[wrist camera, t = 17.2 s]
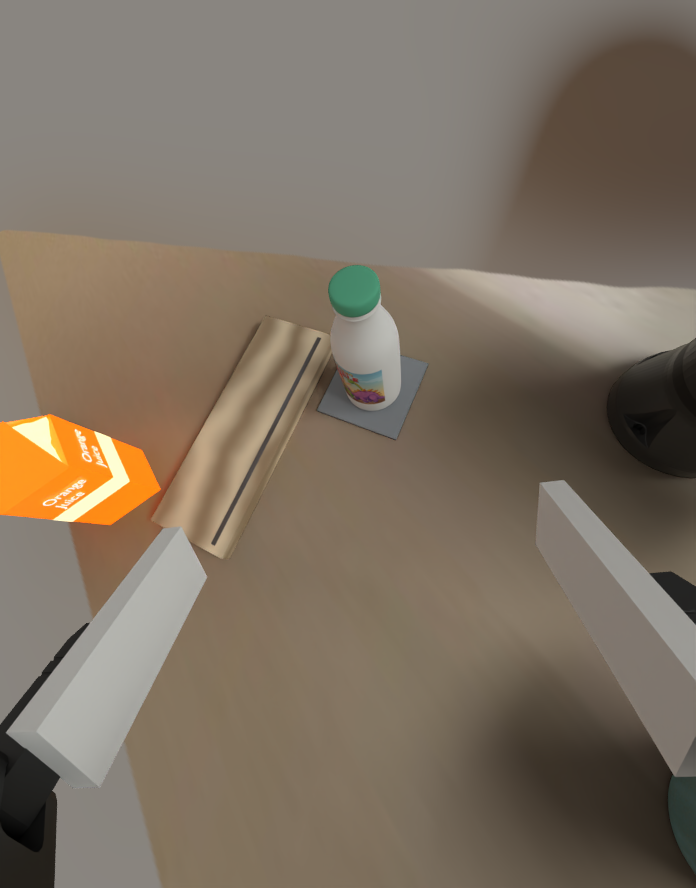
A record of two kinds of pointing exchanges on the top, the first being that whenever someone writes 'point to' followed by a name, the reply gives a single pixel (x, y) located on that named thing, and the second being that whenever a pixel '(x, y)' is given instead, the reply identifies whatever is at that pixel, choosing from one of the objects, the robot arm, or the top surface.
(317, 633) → the top surface
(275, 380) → the oak board
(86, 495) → the orange juice
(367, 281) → the milk bottle
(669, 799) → the flower pot
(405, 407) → the plate
